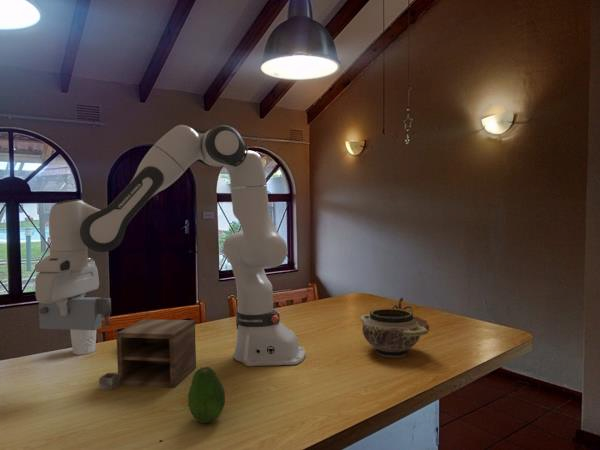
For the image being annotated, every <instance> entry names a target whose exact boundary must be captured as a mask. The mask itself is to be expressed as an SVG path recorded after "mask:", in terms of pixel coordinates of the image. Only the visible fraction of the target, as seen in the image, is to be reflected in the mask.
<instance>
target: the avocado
mask: <svg viewBox="0 0 600 450" xmlns="http://www.w3.org/2000/svg"><path fill="white" fill-rule="evenodd" d="M225 395H226V394H225V389H224V386H223V384H222V383H221V380H220V379H219V377H218V376H217V374H216V372H215V371H214V369H213V368H211V367H209V366H203V367H200V368H199V369H198V370H197V371H196V372H195V373H194V374H193V376H192V380H191V384H190V387H189V391H188V394H187V402H188V403H187V404H188V405H187V407H188V409H189V412H190V414H191V416H192V418H193V419H194V420H195V421H196V422H199V423H202V424H206V423H210V422H213V421H214V420H216V419H218V417H219V416H220V415H221V413H223V409H224V407H225V404H226V396H225Z"/></svg>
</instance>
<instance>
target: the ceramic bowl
mask: <svg viewBox="0 0 600 450" xmlns="http://www.w3.org/2000/svg"><path fill="white" fill-rule="evenodd" d="M413 317H414V313H413V311H411V310H409V309H403V308H402V309H396V307H394V308H392V307H390V308H389V307H388V308H386V307H385V308H377V309H372V310H370V312H369V314H362V315H361V316H360V317H359V318H360V322H361V324H362V330H361V331H362V335H363V337H364V339H365V340H366V341H367V342H368V343H369V344H370V345H371V346H372V347H373V348H375V349H376V350H375V352H376V353H377V354H378V355H380V356H382V357H386V358H402V357H405V356H406V355H407V354H408V350H409V349H411V348H412V347H414V346H415V345H416V344H417V343H418V342H419V340H420V337H421V336H423V335H424V336H425V335H427V334H428V332H429V331H428V329H426V328H425V327H420V325H419V323H418V322H417V321H416V320H415V319H414V318H413Z"/></svg>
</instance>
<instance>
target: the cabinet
mask: <svg viewBox="0 0 600 450" xmlns="http://www.w3.org/2000/svg"><path fill="white" fill-rule="evenodd" d="M196 351H197V348H196V321H195V320H194V319H190V320H189V319H159V318H158V319H154V318H153V319H149V318H148V319H147V318H144V319H142V320H139V321H137V322H136V323H135V322H134V323H133V324H132V325H129V326H126V327H125V328H123V329H121V330H119V331H118V332H116V353H117V354H116V355H117V373H115V372H107V373H105V374H104V375H101V377H99V379H98V382H99V388H98V389H99V390H103V391H114V390H115V389H116V388H118V387H119V386H133V387H134V386H136V387H153V388H155V387H156V388H175V389H176V387H177V386H178V385H180V383H182V382H183V381H184V380H185V379H186V378H187V377H188V376H189V375H190V374H192V372H193V371H195V370H196V369H197V355H196V354H197V353H196Z"/></svg>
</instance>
